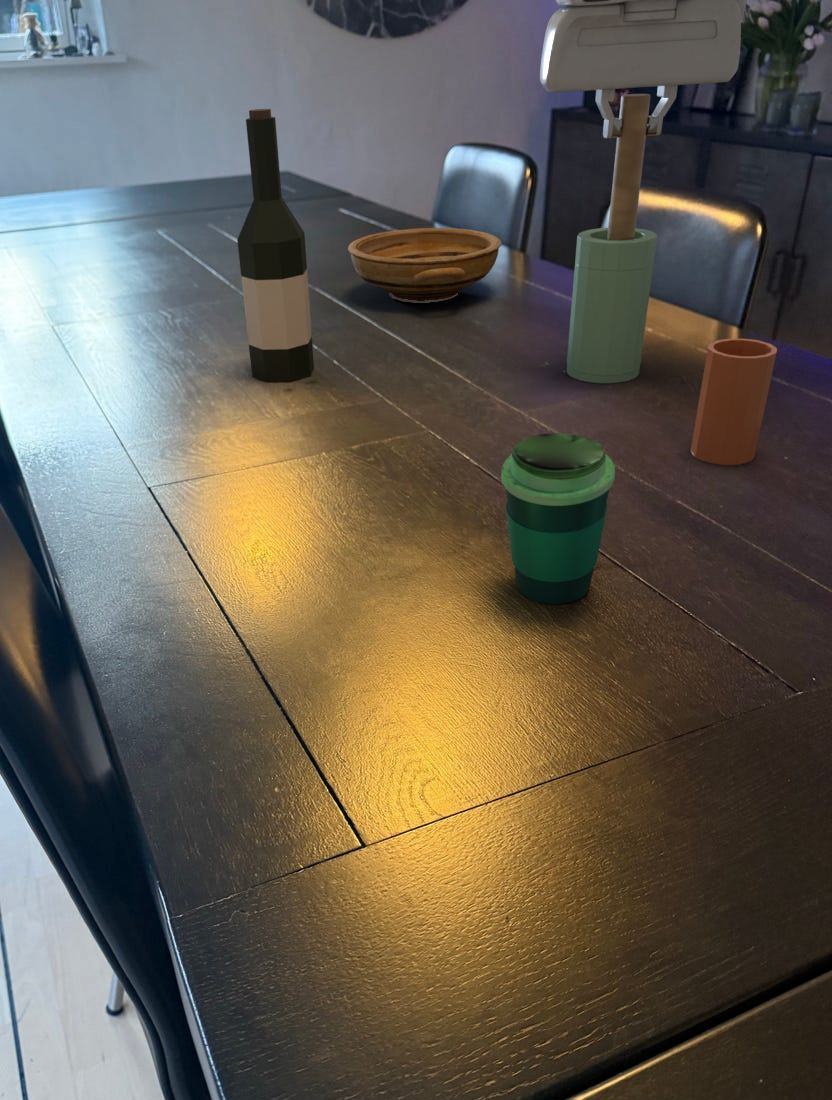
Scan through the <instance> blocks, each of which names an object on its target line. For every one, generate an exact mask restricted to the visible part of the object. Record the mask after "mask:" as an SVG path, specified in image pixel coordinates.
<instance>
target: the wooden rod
mask: <svg viewBox="0 0 832 1100" xmlns="http://www.w3.org/2000/svg"><path fill="white" fill-rule="evenodd" d="M650 103H651V94H649V93H629V94H622V95H621V96H620V105H619V115H618V118H619V119H622V127H621V128H620V130H621V136H620V137H618V138H616V146H615V155H614V167H613V174H612V183H611V184H612V185H611V187H612V188H611V195H610V206H609V215H608V226H607V228H608V235H607V240H619V241H620V240H633V239H634V236H635V228H637V226H636V225H637V217H638V216H637V215H638V208H639V201H640V200H639V199H640V192H641V191H640V190H641V182H642V174H643V165H644V157H645V156H644V155H645V148H646V140H647V139H646V138H647V136H646V131H647V122H648V116H649V114H650V113H649V112H650V105H651V104H650Z"/></svg>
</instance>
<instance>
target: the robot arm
mask: <svg viewBox="0 0 832 1100" xmlns="http://www.w3.org/2000/svg"><path fill="white" fill-rule="evenodd" d="M555 3H556V5H558V6H559V7H561V8H559V9H557V10H556V11H554V13H553V14H551V16H550V18H549V20H548V23H547V25H546V29H545V33H544V39H543V44H542V50H541V51H542V52H541V58H540V59H541V60H540V68H539V81H540V84H541V86H542V88H543V90H545V91H546V92H547V93H548V92H549V93H552V94H553V93H554V94H555V93H569V92H571V93H572V92H583V91H584V92H586V91H587V92H588V91H595V103H596V105H597V108H598V110H599V112H600V115H601V117H602V119H604V120H603V130H602V137H603V138H604V139H615V138H616V139H617V138H618V137H620V136H621V130H620V128H621V127H622V119H619V117H615V115H614V113H613V111H612V110H613V109H612V107H611V105H610V103H609V102H614V101H615V93H616V90H619V89H633V88H636V89H637V88H649V87H650V88H651V87H652V88H653V87H657V90H656V91H657V92H656V96H657V97H658V98H660V100H659V102H658V103H657V105H656V107H655V109H654V110H653V112H652V113H651V115H648V122H647V131H646V137H647V136H648V137H649V136H650V137H651V136H660V135H661V134H662V131H663V130H662V129H663V121H664V117H666V115H667V113H668V112H669V110H670V108H671V107H672V105H673V104H674V103H675V101H676V98H677V94H678V86H682V85H683V86H684V85H698V84H699V85H700V84H701V85H702V84H714V83H715V84H716V83H727V82H729V81H731V79H732V78H733V77H734V75H736V73H737V71H738V70H739V65H740V56H741V55H740V54H741V43H742V42H741V39H742V37H741V36H742V21H743V18H744V16H745V13H746V8H747V0H555Z"/></svg>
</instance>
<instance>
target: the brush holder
mask: <svg viewBox="0 0 832 1100" xmlns="http://www.w3.org/2000/svg"><path fill="white" fill-rule="evenodd" d="M777 352H778V348H777V347H776V346H775V345H773V344H772V343H769V342H765V341H763V340H759V339H751V338H724V339H717V340H715V341H712V342H710V343H708V346H707V351H706V356H705V364H704V368H703V375H702V381H701V387H700V393H699V397H698V405H697V411H696V415H695V422H694V428H693V433H692V440H691V445H690V453H691V455H692V456H693V457H695V458H696V459H698V460H699V461H702V462H705V463H709V464H713V465H720V466H737V465H744V464H747V463H749V462H751V461H753V460H754V459H755V458H756V453H757V449H758V443H759V439H760V434H761V429H762V424H763V419H764V416H765V415H764V414H765V410H766V405H767V400H768V395H769V391H770V386H771V381H772V377H773V372H774V368H775V362H776V358H777Z"/></svg>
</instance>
